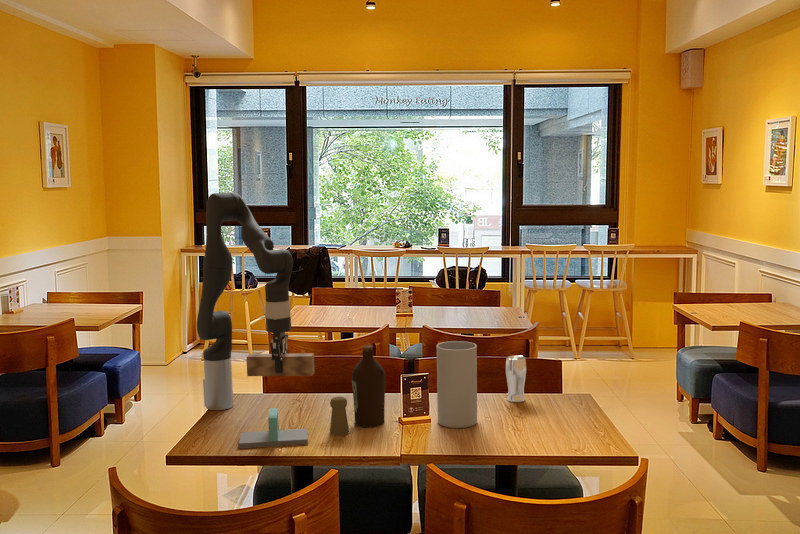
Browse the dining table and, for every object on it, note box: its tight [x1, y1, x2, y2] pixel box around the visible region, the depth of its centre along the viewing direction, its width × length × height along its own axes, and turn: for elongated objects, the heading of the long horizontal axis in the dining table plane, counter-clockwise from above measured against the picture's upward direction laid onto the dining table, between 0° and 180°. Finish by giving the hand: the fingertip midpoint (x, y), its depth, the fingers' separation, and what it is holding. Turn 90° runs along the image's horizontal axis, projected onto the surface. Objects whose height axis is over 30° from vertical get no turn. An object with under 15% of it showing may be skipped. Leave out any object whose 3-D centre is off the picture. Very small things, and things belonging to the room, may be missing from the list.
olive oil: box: [351, 344, 386, 428], centre depth 251 cm, size 11×11×25 cm
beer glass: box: [505, 355, 527, 403], centre depth 273 cm, size 7×7×15 cm
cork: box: [329, 396, 350, 436], centre depth 243 cm, size 6×6×11 cm
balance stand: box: [238, 407, 309, 449], centre depth 237 cm, size 20×10×8 cm, turn 97°
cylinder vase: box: [436, 340, 478, 429], centre depth 249 cm, size 12×12×25 cm
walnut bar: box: [245, 352, 316, 377], centre depth 241 cm, size 20×4×6 cm, turn 85°
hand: (280, 370), depth 241 cm, fingers closed on walnut bar, 4 cm apart
